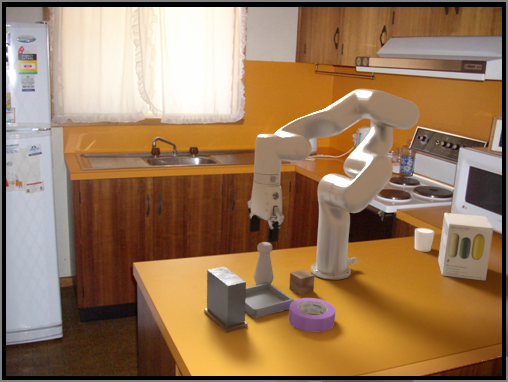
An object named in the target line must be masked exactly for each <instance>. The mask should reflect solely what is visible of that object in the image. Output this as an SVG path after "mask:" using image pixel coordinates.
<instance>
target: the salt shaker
mask: <svg viewBox="0 0 508 382" xmlns="http://www.w3.org/2000/svg"><path fill="white" fill-rule="evenodd" d="M256 249H257V252H258V255H257V260H256V265H255V269H254V273H253V274H254V275H253V279H254V282H255V286H256V285H260V284H265V283H270V284H271V285H272V283H273V281H274V273H273V272H274V271H273V265H272V259H271V252H272V251H273V244H271V242H268V241H262V242H259V243H258V244H257V248H256Z"/></svg>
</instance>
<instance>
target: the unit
mask: <svg viewBox="0 0 508 382" xmlns="http://www.w3.org/2000/svg"><path fill="white" fill-rule="evenodd" d="M206 274H207V275H206V285H207V286H206V308H204V309H203V311H204V313H205V314H206V315H207V316H208V317H209V318H210V319H211V320H213V322H214V323H216V325H217V326H218V327H220V328H221V329H222V330H223V331H224V332H225V333H230V332H234V331H237V330H241V329H244V328H247V327H248V324H249V323H248V322H247V320H246V311H245V300H246V288H247V281H246V280H244V279H243V278H241V277H240V276H239V275H237V274H236V273H235V272H233V271H232V270H230V269H229V268H227V267H226V266H220V267H215V268H209V269H206Z"/></svg>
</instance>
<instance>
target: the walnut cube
mask: <svg viewBox="0 0 508 382" xmlns="http://www.w3.org/2000/svg"><path fill="white" fill-rule="evenodd" d="M314 286H315V275H314V274H313V273H312V272H309V271H307V270H306V269H301V270H296V271H291V272H289V289H290V290H291V291H293V292H294V293H296V294H297V295H299V296H300V295H304V294H308V293H312V292H314V289H315V287H314Z"/></svg>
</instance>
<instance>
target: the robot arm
mask: <svg viewBox="0 0 508 382" xmlns="http://www.w3.org/2000/svg"><path fill="white" fill-rule="evenodd" d="M364 119H367V120H369V121H370V126H369V127H370V128H369V132H368V133H367V134H366V136H365V138H364V139H363V140H362V141H361V142H360V143H359V145H357V146H356V148H354V150H353V151H351V153H350V154H349V155H348V157H346V159H345V160H344V163H343V171H344V173H345V174H346V175H347V176H346V175H343V174H339V173H334V172H333V173H328V174H326V175H324V176H323V177H322V178H321V179H320V181H319V182H318V185H317V201H318V227H317V241H316V256H315V258H316V259H315V263H313V264H311V266H310V273H311V274H313V275H314V276H316V277H318V278H321V279H324V280H335V281H338V280H344V279H347V278H348V277H350V276H351V274H352V269H351V268H350V267H349V266H351V264H357V263H358V261H359V259H358V258H357V257H356V256H353V257H349V255H348V248H349V238H350V237H349V234H350V225H351V215H350V213H352V214H356V213H360V212H362V211H363V210H365V209H366V208H367V207H368V206H369V205H370V204H371V203H372V202H373V200H374V199H375V198H376V197H377V196H378V195H379V194H380V193H381V191H383V190H384V188H385V187H386V186H387V185H388V183H389V182H390V180H391V179H392V175H393V172H394V171H393V170H394V166H393V162H392V160H391V159H390V158H389V157H388V154H390V152H391V150H392V147H394V129H399V130H410V129H412V128H413V127H415V126H416V125H417V123H418V122H419V120H420V110H419V107H418V105H417V104H416V103H415V102H414V101H412V100H408V99H406V98H403V97H400V96H397V95H394V94H392V93H389V92H386V91H384V90H379V89H378V90H377V89H371V88H357V89H354V90H352V91H351V92H349V93H347V94H346V95H344V96H343V97H341V98H340V99H338V100H336V101H335V102H334V103H332V104H330V105H328V106H327V107H326V108H325V107H324V109H322V110H318V111H315V112H312V113H309V114H307V115H305V116H304V115H303V116H302V117H299V118H297V119H295V120H293V121H291V122H289V123H287V124H285V125H284V126H282V127H280V128H279V129H278V130H276V132H274V133H259V134H258V135H257V136H256V138H255V147H254V166H253V182H252V183H253V184H252V187H251V188H252V189H251V195H250V200H248V201H247V207H248V213H249V215H248V217H249V232H250V233H255V232H259V231H261V230H260V229H261V219H263V220H265V221H267V223H268V225H269V228H268V233H267V242H268V243H274V242H278V241H279V235H280V234H279V233H280V229H281V226H282V225H283V222H284V219H285V215H284V214H283V193H282V185H281V174H282V173H281V172H282V161H286V162H287V161H288V162H295V163H296V162H303V161H305V160H306V159H308V158H309V157H310V155H311V153H312V149H313V148H312V143H311V141H310V140H313V139H316V138H317V139H318V138H319V139H320V138H330V137H334V136H338V135H340V134H341V133H343V132H345V131H346V130H347V129H349V128H351V127H352V126H354V125H355V124H357V123H358V122H360V121H361V120H364ZM273 221H274V222H273Z"/></svg>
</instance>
